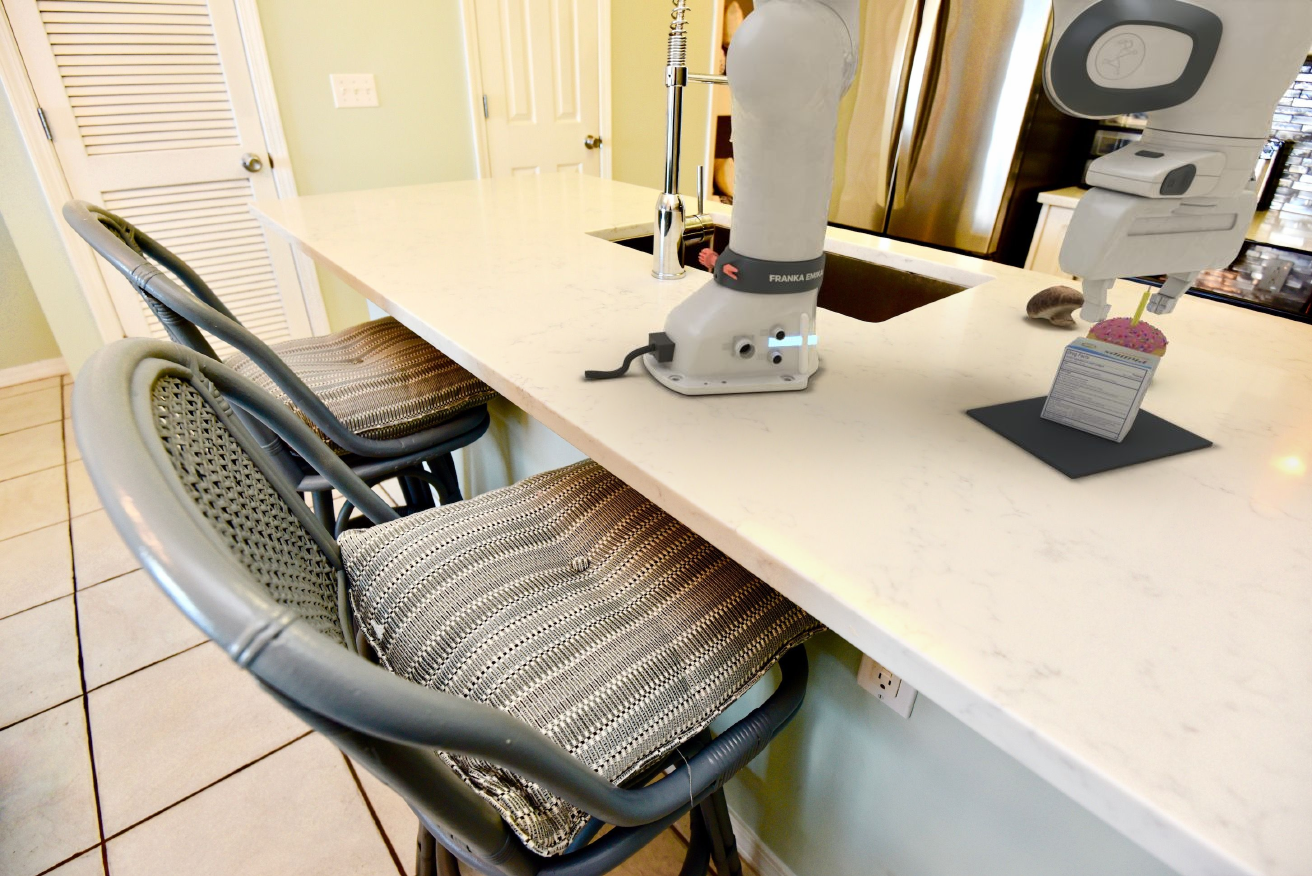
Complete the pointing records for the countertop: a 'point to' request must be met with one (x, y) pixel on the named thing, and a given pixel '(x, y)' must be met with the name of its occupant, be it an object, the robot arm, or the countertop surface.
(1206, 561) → the countertop surface
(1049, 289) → the mushroom
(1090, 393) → the medicine box
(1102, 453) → the cloth
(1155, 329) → the cupcake
